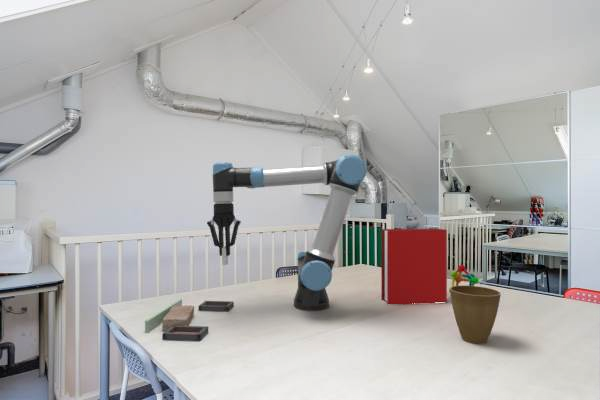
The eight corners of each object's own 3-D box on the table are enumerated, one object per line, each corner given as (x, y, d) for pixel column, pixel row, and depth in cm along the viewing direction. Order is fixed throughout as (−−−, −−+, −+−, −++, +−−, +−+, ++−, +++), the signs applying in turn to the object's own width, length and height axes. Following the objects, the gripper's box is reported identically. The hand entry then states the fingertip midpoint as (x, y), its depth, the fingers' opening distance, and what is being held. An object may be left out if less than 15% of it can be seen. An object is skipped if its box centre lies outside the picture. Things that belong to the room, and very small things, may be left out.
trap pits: (233, 306, 160) (233, 301, 160) (199, 341, 120) (199, 334, 120) (205, 305, 161) (205, 300, 161) (162, 339, 122) (162, 333, 122)
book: (387, 304, 162) (387, 230, 162) (381, 300, 170) (381, 229, 170) (448, 303, 165) (448, 230, 165) (439, 298, 173) (439, 228, 173)
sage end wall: (181, 308, 156) (181, 299, 156) (148, 332, 128) (148, 320, 128) (179, 308, 156) (179, 299, 156) (145, 332, 128) (145, 320, 128)
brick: (186, 331, 130) (186, 317, 130) (161, 332, 129) (161, 318, 129) (194, 317, 147) (194, 304, 147) (172, 317, 146) (172, 305, 146)
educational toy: (483, 301, 171) (484, 269, 170) (454, 301, 172) (455, 269, 170) (469, 290, 187) (470, 260, 185) (443, 290, 187) (443, 260, 186)
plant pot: (498, 352, 112) (498, 298, 112) (445, 342, 120) (445, 291, 120) (502, 336, 124) (502, 288, 124) (454, 328, 132) (454, 283, 132)
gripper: (242, 202, 149) (243, 262, 149) (209, 203, 149) (211, 262, 149) (238, 202, 141) (239, 265, 141) (203, 203, 142) (205, 266, 142)
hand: (225, 264), depth 145 cm, fingers closed
